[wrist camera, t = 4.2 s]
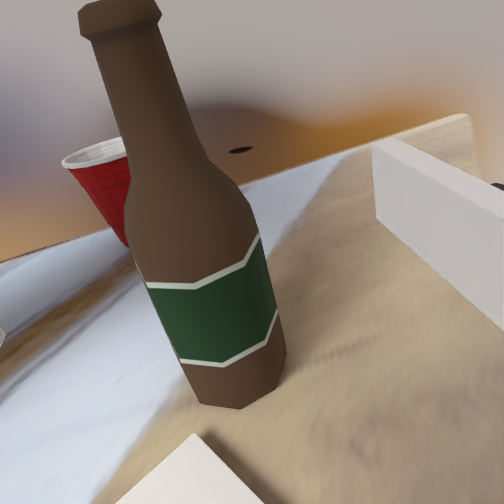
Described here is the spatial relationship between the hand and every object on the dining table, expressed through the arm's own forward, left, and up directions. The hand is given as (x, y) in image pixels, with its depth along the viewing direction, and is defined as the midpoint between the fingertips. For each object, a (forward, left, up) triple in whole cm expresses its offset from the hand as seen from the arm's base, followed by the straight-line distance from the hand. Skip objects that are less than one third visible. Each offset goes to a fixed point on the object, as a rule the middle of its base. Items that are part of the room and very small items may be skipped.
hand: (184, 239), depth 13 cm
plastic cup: (-35, +12, -17) cm, 41 cm away
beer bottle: (-9, +5, -17) cm, 20 cm away
